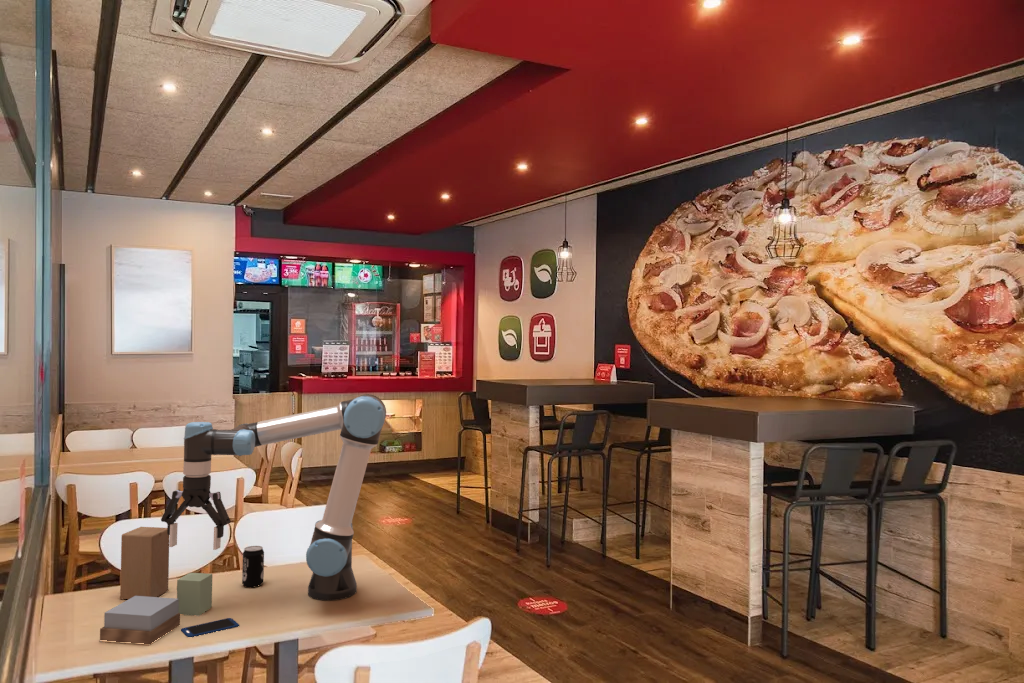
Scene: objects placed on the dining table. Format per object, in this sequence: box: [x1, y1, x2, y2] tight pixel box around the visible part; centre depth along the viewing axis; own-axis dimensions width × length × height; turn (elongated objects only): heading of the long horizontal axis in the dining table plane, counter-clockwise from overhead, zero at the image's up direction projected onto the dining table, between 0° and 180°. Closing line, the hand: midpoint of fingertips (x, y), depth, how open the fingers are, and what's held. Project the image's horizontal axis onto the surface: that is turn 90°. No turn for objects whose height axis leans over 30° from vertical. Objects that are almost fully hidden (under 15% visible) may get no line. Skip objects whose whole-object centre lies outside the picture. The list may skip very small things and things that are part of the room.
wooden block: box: [119, 526, 170, 600], centre depth 231 cm, size 10×10×20 cm
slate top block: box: [103, 596, 179, 631], centre depth 202 cm, size 13×13×4 cm
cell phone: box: [180, 617, 240, 638], centre depth 206 cm, size 7×14×1 cm, turn 130°
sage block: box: [176, 572, 213, 617], centre depth 219 cm, size 7×7×10 cm
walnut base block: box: [99, 613, 181, 645], centre depth 201 cm, size 14×14×4 cm
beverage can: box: [241, 545, 265, 588], centre depth 243 cm, size 7×7×12 cm
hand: (194, 547), depth 219 cm, fingers open, 13 cm apart
